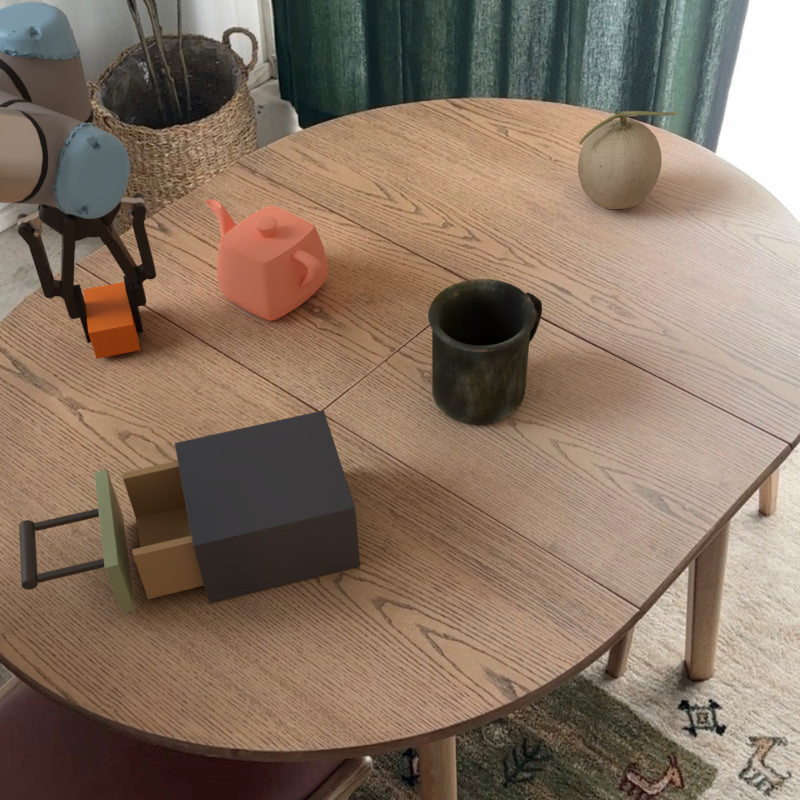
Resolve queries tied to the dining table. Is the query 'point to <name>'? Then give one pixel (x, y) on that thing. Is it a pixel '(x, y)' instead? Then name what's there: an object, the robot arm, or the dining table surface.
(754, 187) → the dining table surface
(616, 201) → the fruit
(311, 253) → the teapot
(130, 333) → the orange gripped block
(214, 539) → the cabinet
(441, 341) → the mug
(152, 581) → the drawer
